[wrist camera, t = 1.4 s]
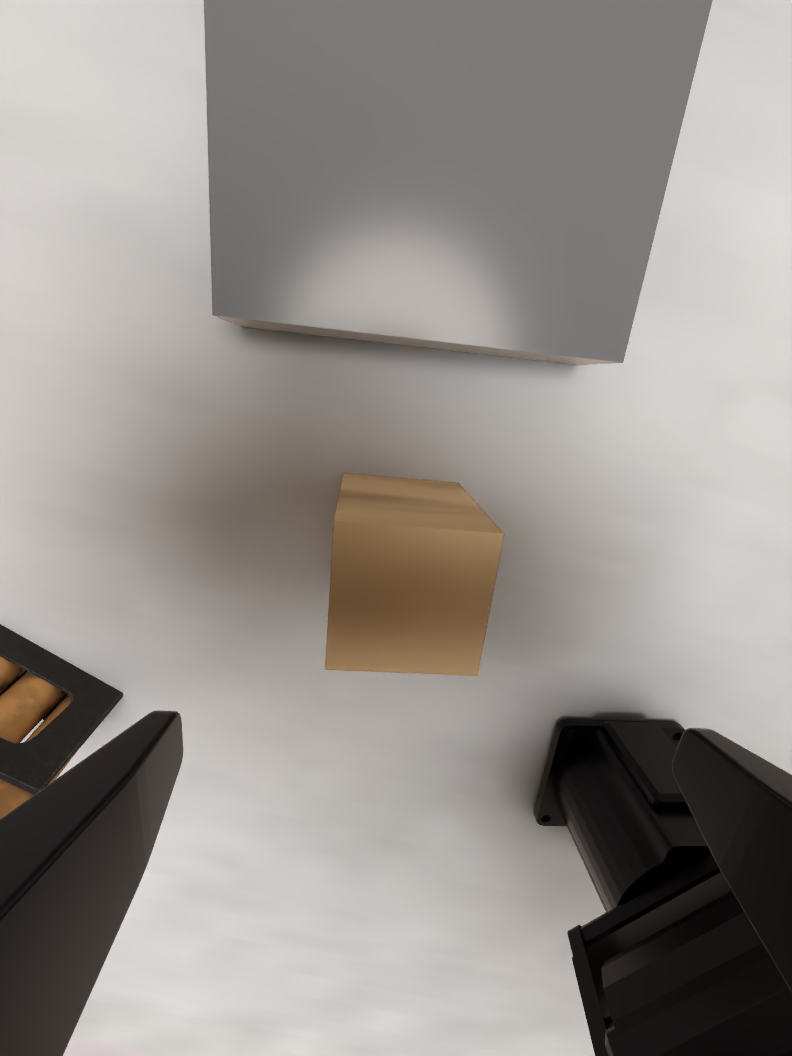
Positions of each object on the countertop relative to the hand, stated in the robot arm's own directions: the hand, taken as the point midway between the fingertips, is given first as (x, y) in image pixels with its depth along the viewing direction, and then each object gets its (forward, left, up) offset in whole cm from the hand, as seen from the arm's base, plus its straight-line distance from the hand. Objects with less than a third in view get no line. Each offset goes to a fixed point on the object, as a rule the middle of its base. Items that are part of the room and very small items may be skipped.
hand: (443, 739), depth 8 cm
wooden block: (0, 0, -11) cm, 11 cm away
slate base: (+13, 0, -11) cm, 17 cm away
